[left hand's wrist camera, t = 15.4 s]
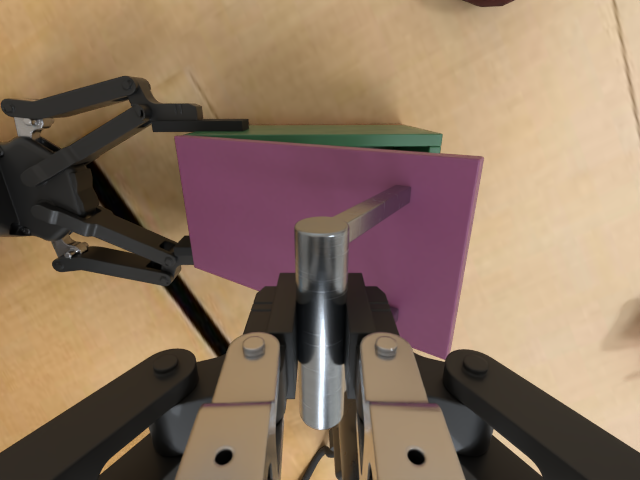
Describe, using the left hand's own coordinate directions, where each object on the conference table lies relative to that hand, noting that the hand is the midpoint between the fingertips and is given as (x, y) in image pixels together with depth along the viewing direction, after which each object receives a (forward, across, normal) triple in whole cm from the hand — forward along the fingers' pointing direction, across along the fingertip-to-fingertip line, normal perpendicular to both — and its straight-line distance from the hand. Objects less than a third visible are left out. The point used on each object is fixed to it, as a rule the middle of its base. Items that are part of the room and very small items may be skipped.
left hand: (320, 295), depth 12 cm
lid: (+7, +1, 0) cm, 8 cm away
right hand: (+17, +6, 0) cm, 18 cm away
